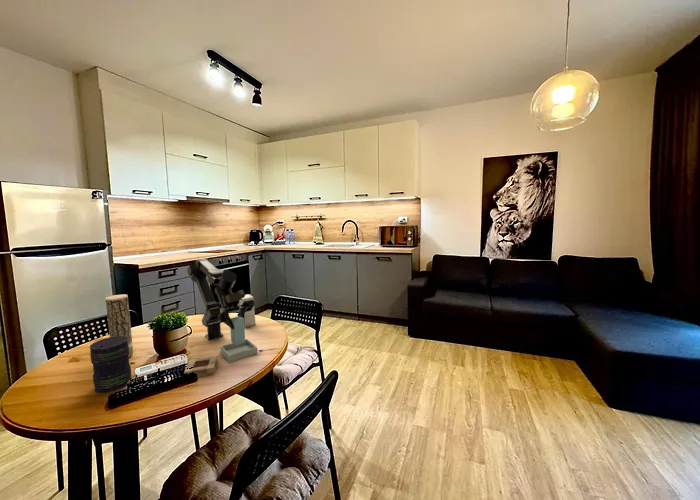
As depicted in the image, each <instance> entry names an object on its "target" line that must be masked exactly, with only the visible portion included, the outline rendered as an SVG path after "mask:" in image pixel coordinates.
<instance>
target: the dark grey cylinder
mask: <svg viewBox="0 0 700 500" xmlns="http://www.w3.org/2000/svg"><path fill="white" fill-rule="evenodd" d="M127 341H128V338H127V337H124V336H117V337H110V336H109V337H106V338H102V339H100V340H97V341H95V342H92V343H91V344H90V345H89V353H90V354H89V357H90V363H91V364H92V370H93V374H92V382H93V386H94V392H95V393H96V394H101V395H103V394H108V393H109V394H110V393H113V392H117V391H120V390H122V389H123V388H125V387H127V386H128V385H127V382H128V381H129V380H131V379H132V366H131V364H130V359H129V358H130V357H129V356H128V355H129V345H128V342H127ZM132 380H133V379H132Z"/></svg>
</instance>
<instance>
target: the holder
mask: <svg viewBox="0 0 700 500" xmlns="http://www.w3.org/2000/svg"><path fill="white" fill-rule="evenodd" d="M218 359H219V358H218V355H213V356H206V357H201V358H200V357H198V358H192V359H189V361H188V363H187V365H186V367H185V369H184V372H183V375H184V374H186V373H192V372H193V373H196V374H197V377H196V378H199V377H206V376H213V375H215V374H216V369H217V365H218V363H219V362H218V361H219V360H218ZM191 367H195V368H192V369H189V368H191ZM187 368H188V369H187Z"/></svg>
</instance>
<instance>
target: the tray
mask: <svg viewBox="0 0 700 500" xmlns="http://www.w3.org/2000/svg"><path fill="white" fill-rule="evenodd" d="M219 347H220V353H221V355H223V357H224V358H225V359H226V360H227V363H231V362H235V361H238V360H241V359H244V358H247V357H250V356H255V355H257V354H258V347H257V346H256V344H254V343H253V342H252V341H251V340H249V338H245V342H244V343H241V344H238V345H235V344H233V343H232V342H230V343H226V344H223V345H220V346H219Z"/></svg>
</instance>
